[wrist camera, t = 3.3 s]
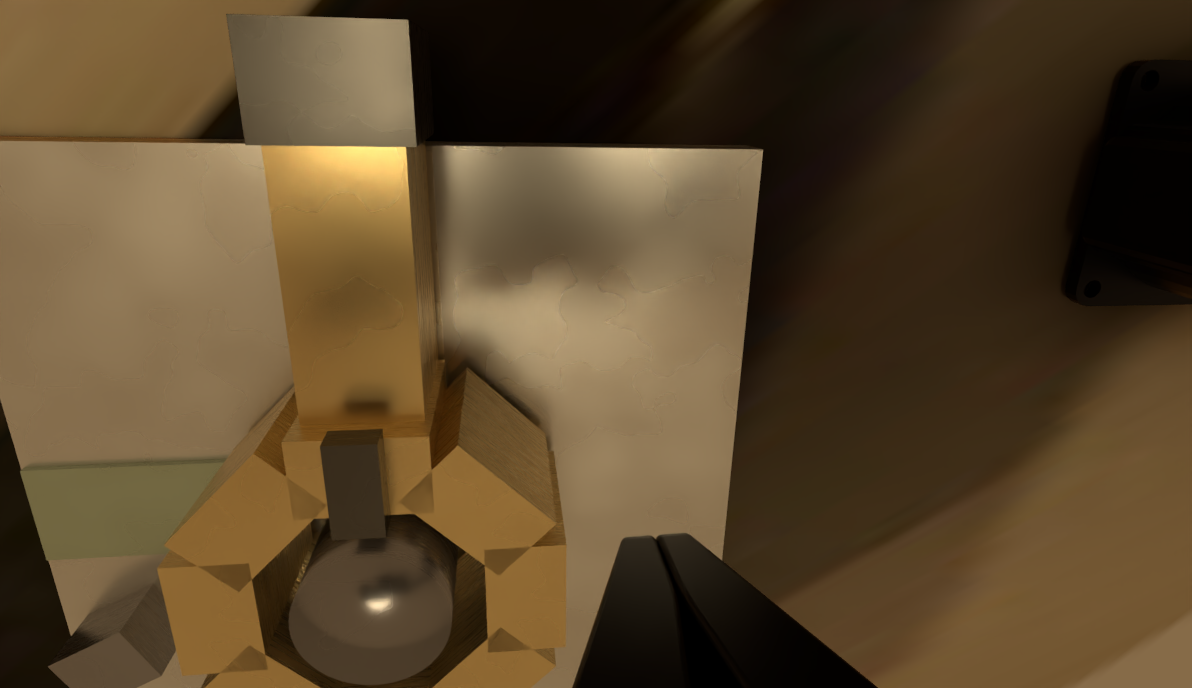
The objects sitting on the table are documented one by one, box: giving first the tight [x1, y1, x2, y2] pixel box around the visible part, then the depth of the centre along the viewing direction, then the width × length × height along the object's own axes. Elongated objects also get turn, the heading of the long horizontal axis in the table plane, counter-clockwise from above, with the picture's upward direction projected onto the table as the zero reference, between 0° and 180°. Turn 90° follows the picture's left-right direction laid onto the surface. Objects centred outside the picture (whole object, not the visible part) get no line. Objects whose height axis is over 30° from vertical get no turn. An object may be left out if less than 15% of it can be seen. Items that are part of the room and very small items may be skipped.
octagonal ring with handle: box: [157, 14, 567, 688], centre depth 15 cm, size 8×15×5 cm, turn 179°
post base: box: [0, 136, 763, 688], centre depth 17 cm, size 18×18×6 cm
